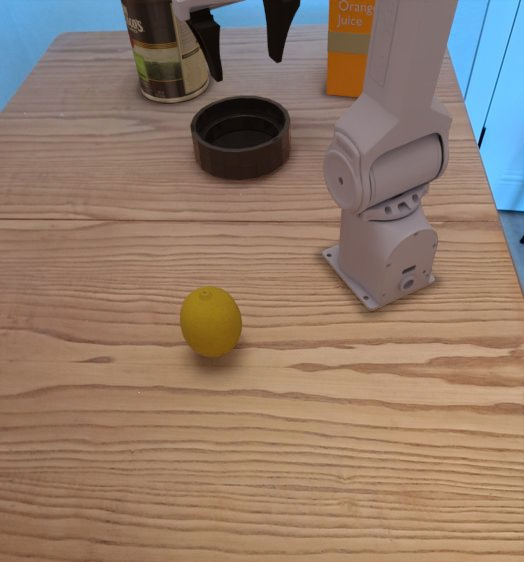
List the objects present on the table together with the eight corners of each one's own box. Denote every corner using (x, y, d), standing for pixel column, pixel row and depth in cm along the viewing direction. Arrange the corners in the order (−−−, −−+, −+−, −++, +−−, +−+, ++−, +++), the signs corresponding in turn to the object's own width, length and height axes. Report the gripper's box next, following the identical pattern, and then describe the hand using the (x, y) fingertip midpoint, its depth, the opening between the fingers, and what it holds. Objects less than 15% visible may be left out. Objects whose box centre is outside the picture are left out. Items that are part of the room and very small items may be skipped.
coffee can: (153, 111, 81) (129, 3, 70) (132, 79, 87) (106, -26, 76) (220, 91, 83) (207, -17, 72) (195, 61, 89) (179, -43, 78)
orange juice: (325, 94, 81) (329, -74, 65) (338, 63, 86) (346, -100, 70) (380, 100, 79) (399, -72, 63) (391, 68, 84) (410, -99, 68)
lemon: (248, 327, 56) (241, 269, 50) (241, 374, 53) (232, 318, 47) (193, 325, 57) (178, 268, 50) (183, 371, 54) (166, 316, 47)
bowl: (308, 163, 72) (308, 130, 68) (220, 195, 69) (215, 163, 65) (263, 117, 78) (261, 85, 75) (181, 145, 76) (175, 113, 72)
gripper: (280, -97, 60) (284, 38, 71) (151, -65, 57) (176, 71, 67) (314, -78, 56) (313, 61, 67) (177, -43, 53) (199, 98, 63)
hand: (246, 68), depth 67 cm, fingers open, 7 cm apart
